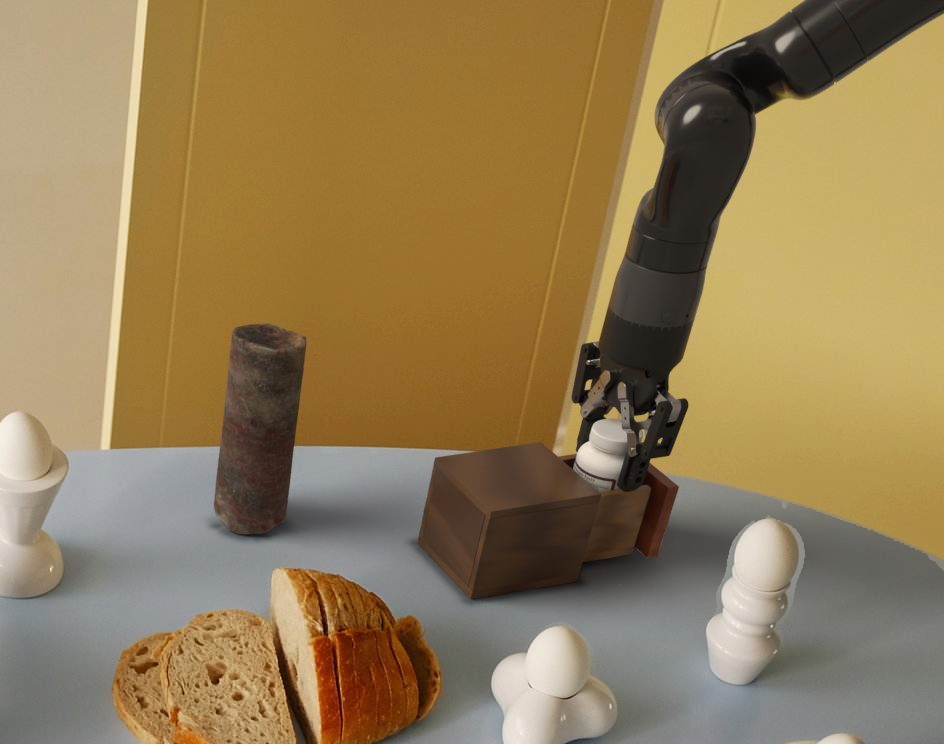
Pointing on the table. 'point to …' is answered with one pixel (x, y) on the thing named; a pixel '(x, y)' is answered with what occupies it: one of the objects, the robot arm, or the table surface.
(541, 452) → the cabinet
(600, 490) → the pill bottle
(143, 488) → the table surface
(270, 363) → the brown clay vase
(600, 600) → the table surface
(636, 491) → the drawer
